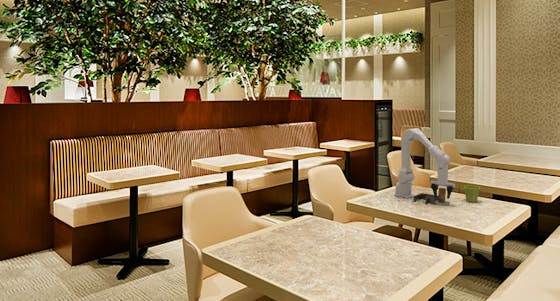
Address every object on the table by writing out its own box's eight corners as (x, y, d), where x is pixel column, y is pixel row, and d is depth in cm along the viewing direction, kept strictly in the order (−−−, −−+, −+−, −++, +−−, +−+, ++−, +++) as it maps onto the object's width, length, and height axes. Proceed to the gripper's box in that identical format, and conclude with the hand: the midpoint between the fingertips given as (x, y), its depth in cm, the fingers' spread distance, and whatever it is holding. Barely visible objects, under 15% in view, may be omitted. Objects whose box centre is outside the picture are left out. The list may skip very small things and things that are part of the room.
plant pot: (477, 203, 254) (478, 189, 252) (461, 201, 259) (461, 187, 258) (481, 200, 261) (482, 186, 260) (465, 198, 267) (465, 184, 266)
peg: (437, 201, 255) (437, 188, 254) (439, 200, 258) (440, 187, 257) (443, 203, 252) (444, 189, 251) (446, 201, 255) (446, 188, 254)
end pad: (433, 203, 255) (433, 202, 255) (438, 201, 260) (438, 199, 260) (445, 205, 250) (445, 203, 250) (449, 203, 256) (449, 201, 255)
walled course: (413, 201, 260) (413, 196, 259) (421, 198, 268) (421, 192, 268) (432, 205, 252) (432, 199, 251) (440, 201, 260) (440, 195, 260)
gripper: (428, 174, 255) (427, 196, 257) (452, 177, 245) (451, 200, 247) (432, 173, 260) (432, 194, 262) (457, 175, 250) (456, 198, 252)
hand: (441, 197), depth 255 cm, fingers open, 7 cm apart
